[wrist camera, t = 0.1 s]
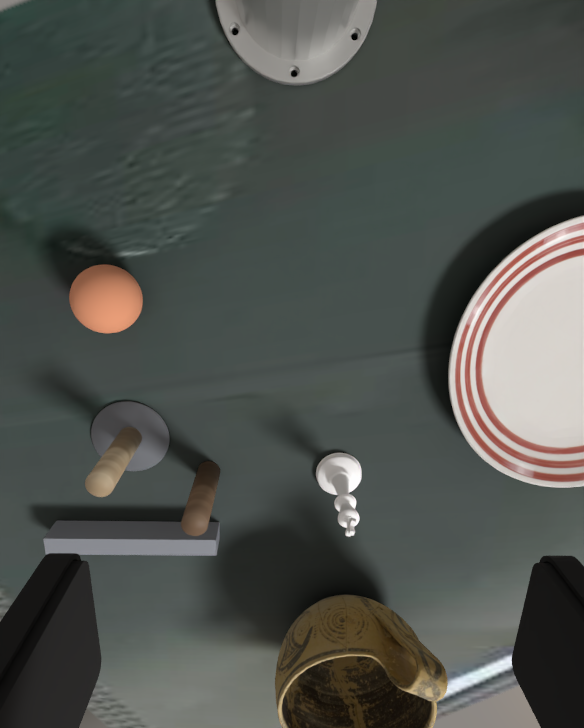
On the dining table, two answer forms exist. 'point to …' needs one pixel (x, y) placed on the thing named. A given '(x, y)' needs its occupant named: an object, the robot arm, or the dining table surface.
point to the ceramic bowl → (356, 669)
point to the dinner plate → (526, 361)
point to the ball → (106, 298)
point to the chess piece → (341, 486)
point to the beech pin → (113, 462)
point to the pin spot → (140, 419)
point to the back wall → (129, 538)
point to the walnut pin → (201, 499)
